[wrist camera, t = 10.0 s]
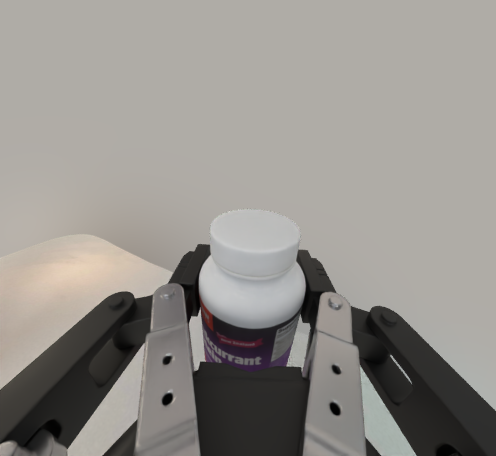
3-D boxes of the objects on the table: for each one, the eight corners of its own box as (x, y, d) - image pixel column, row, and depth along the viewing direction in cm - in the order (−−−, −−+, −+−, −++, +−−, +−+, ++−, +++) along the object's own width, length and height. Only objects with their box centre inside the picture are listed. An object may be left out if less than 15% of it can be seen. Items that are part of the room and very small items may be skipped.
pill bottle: (188, 360, 12) (164, 227, 8) (239, 306, 16) (243, 197, 12) (257, 432, 9) (282, 289, 5) (299, 345, 13) (334, 222, 9)
